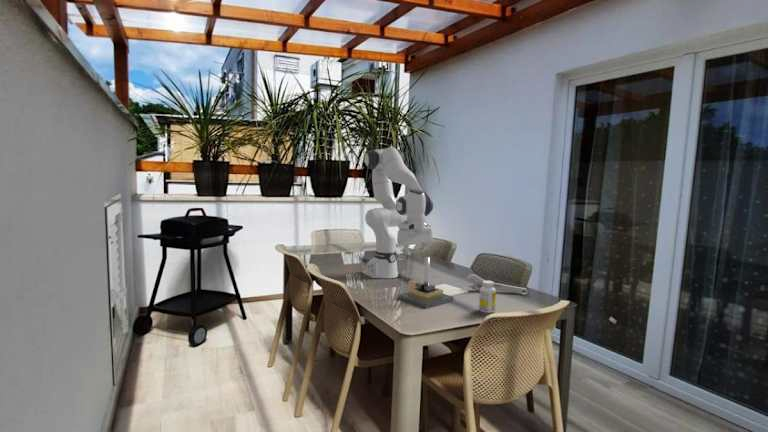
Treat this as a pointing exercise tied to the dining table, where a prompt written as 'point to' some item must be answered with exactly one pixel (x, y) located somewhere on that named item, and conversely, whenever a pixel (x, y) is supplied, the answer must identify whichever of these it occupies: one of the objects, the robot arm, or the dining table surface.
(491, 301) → the supplement bottle
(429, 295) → the collar
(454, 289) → the pad
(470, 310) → the dining table surface
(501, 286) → the wrench
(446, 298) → the rod stand
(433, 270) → the dining table surface
